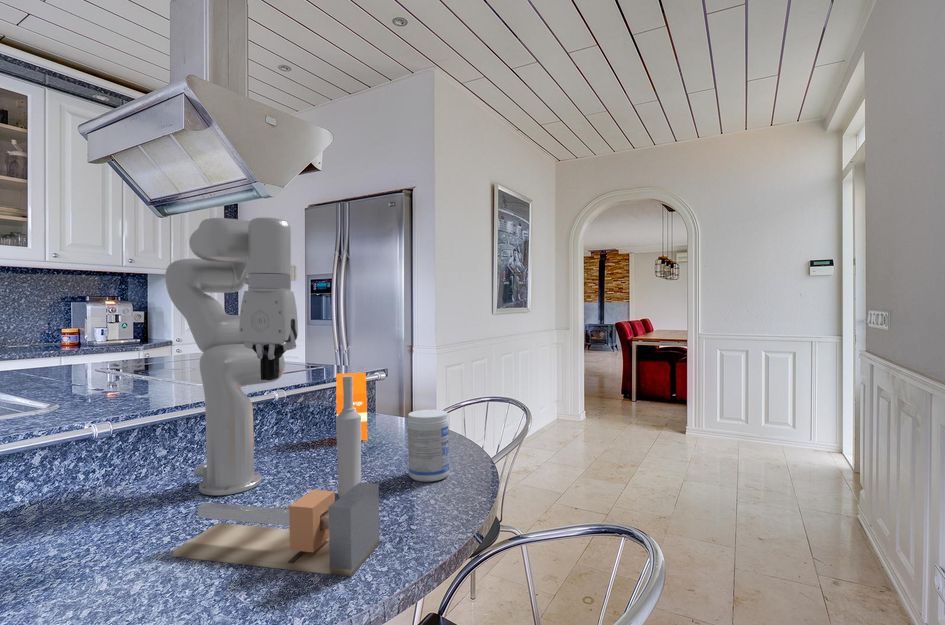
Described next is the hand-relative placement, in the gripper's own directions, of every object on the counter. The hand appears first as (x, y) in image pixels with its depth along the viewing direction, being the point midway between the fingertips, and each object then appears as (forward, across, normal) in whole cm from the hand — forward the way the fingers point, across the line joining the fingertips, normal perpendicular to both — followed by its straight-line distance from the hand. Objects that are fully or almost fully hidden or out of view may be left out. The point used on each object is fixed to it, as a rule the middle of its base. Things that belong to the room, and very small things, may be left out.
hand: (269, 378), depth 93 cm
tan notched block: (+23, +18, -13) cm, 32 cm away
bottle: (+26, +11, +11) cm, 30 cm away
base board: (+25, +12, -13) cm, 31 cm away
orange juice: (+28, -10, +52) cm, 59 cm away
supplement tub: (+26, +24, +25) cm, 43 cm away
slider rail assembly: (+25, +12, -13) cm, 31 cm away
